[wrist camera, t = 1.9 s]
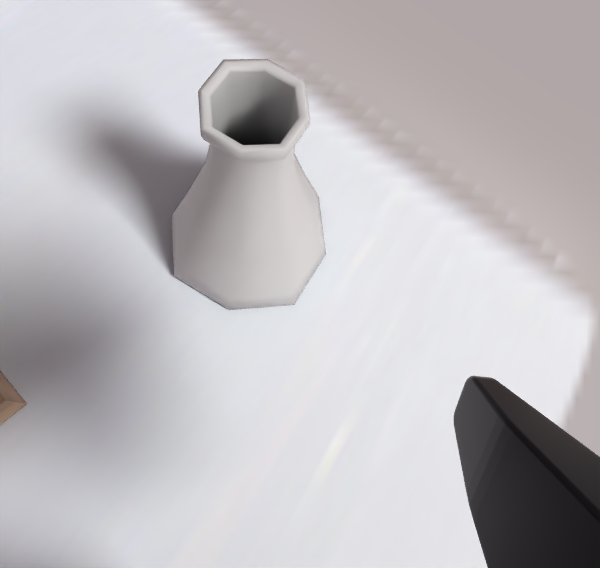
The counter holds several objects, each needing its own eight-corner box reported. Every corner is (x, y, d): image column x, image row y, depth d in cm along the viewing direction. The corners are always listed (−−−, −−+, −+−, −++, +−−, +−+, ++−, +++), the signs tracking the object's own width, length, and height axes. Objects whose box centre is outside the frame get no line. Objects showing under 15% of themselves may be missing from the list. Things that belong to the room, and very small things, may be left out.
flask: (193, 151, 25) (164, -28, 15) (339, 187, 25) (399, 34, 15) (148, 292, 23) (81, 186, 13) (308, 330, 23) (357, 253, 13)
